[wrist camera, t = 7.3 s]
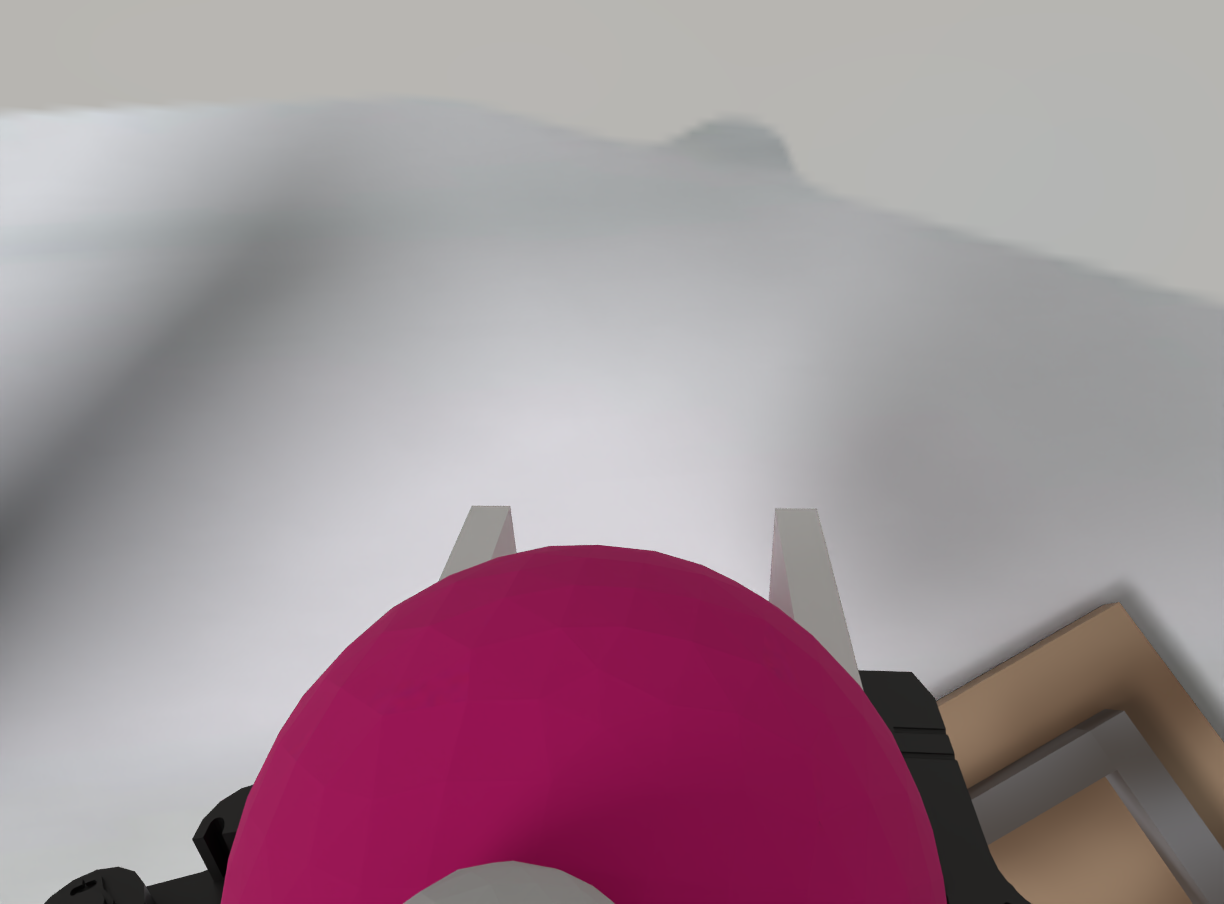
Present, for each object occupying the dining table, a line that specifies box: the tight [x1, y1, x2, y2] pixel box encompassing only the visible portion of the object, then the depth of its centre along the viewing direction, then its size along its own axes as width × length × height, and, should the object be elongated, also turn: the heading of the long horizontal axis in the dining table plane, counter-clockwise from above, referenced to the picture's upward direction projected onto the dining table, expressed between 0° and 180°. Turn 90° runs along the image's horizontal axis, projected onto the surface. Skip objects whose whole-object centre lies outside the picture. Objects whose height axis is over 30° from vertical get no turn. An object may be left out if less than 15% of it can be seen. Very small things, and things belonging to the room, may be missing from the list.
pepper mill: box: [221, 545, 947, 904], centre depth 12 cm, size 7×7×20 cm
